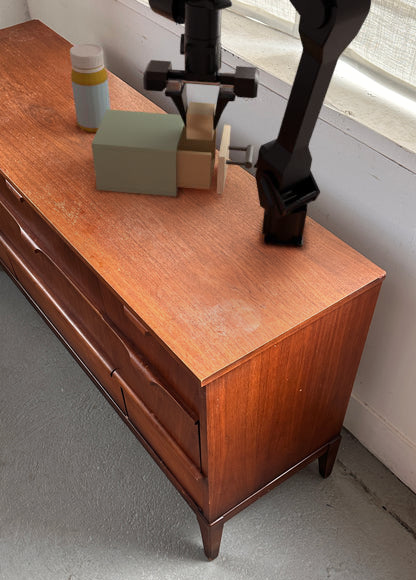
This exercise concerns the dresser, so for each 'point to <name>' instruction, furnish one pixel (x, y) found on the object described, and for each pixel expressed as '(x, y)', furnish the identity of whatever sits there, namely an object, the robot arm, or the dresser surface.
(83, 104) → the bottle
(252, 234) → the dresser surface
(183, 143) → the drawer
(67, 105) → the dresser surface
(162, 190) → the cabinet
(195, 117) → the block
